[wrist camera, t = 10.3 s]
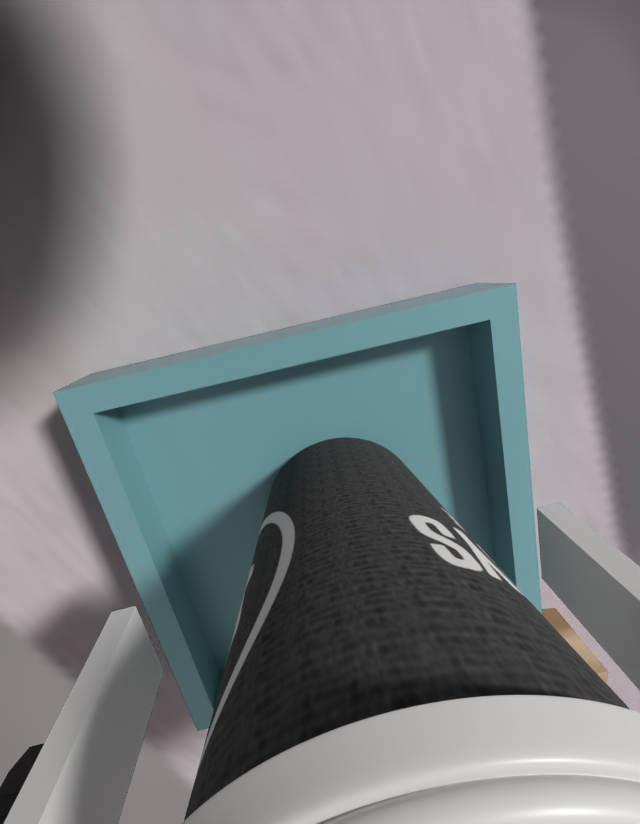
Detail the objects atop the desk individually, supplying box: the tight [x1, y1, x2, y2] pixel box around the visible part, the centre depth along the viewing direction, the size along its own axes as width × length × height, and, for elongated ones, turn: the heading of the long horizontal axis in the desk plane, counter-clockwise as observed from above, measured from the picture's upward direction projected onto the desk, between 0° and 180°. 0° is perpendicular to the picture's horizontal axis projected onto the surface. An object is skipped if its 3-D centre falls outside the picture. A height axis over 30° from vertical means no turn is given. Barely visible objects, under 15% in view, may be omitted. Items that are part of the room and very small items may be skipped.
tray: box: [53, 283, 542, 731], centre depth 18 cm, size 16×16×3 cm
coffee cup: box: [182, 437, 640, 824], centre depth 12 cm, size 10×10×15 cm
